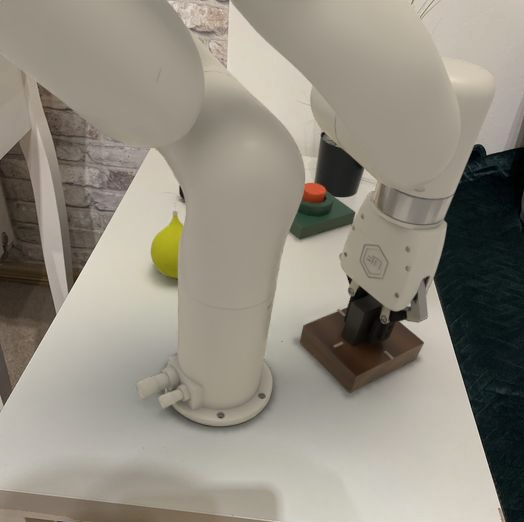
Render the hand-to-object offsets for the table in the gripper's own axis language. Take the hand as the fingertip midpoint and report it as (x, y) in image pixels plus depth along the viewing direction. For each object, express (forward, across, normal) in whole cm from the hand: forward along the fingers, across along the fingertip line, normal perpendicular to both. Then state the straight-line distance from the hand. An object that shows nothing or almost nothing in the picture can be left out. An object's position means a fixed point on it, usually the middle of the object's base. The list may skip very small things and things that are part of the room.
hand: (365, 328), depth 66 cm
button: (0, -29, +15) cm, 33 cm away
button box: (+4, -29, +15) cm, 33 cm away
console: (+4, 0, 0) cm, 4 cm away
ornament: (+4, -25, -13) cm, 28 cm away
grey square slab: (+1, 0, 0) cm, 1 cm away
